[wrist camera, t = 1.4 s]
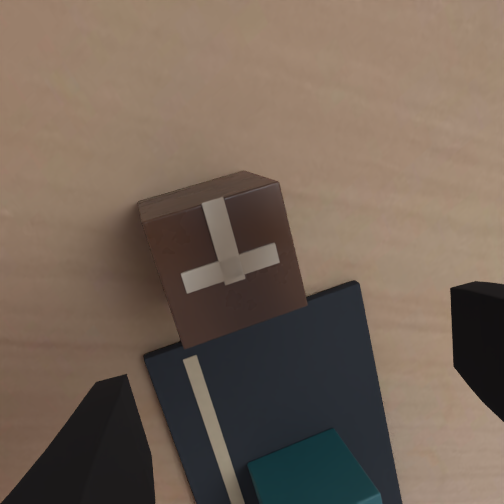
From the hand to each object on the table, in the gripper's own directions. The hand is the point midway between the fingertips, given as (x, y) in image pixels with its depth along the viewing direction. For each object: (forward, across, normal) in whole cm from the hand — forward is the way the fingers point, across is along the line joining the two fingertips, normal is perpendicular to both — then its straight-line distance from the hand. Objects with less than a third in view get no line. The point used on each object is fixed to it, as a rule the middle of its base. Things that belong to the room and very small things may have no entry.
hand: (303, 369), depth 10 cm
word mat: (+10, -1, +13) cm, 16 cm away
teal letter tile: (+10, -1, +13) cm, 16 cm away
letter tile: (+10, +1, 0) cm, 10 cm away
